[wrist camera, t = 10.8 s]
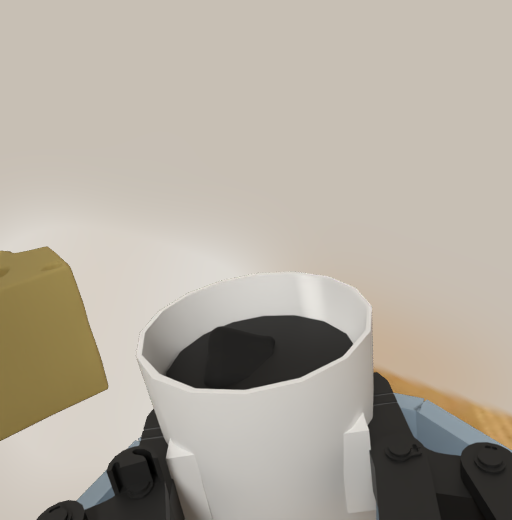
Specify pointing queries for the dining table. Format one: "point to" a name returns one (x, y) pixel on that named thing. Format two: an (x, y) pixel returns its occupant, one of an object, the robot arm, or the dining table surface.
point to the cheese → (43, 340)
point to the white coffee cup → (264, 390)
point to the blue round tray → (418, 419)
